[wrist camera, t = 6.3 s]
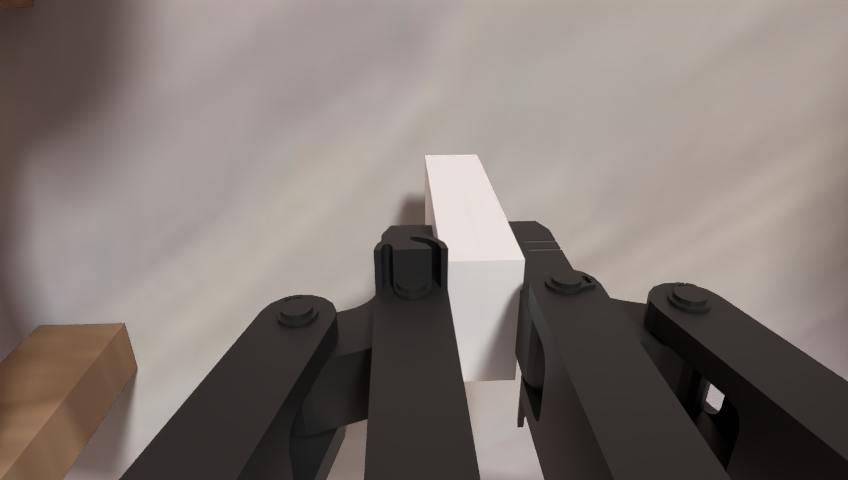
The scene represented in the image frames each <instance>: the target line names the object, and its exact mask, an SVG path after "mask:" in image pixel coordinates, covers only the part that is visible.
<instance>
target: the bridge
mask: <svg viewBox="0 0 848 480" xmlns="http://www.w3.org/2000/svg"><path fill="white" fill-rule="evenodd" d="M29 6H33V2H32V0H0V9H1V8H15V7H29ZM136 369H137V365H136V362H135V358H134V355H133V351H132V348H131V344H130V341H129V337H128V334H127V330H126V327H125V323H119V324H85V325H50V326H38V327H37V328H36V329H35V330H34V331H33V332H32V333H31V334H30V335H29V336H28V337H27V338H26V339H25V340H24V341H23V342H22V343H21V344H20V345H19V346H18V347H16V348H15V349H14V350H13V351H12V352H11V353H10V354H9V355H8V356H7V357H6V358H5V359H4V360H3V361H2V362H1V363H0V480H63V478H64V477H65V475H66V474H67V472H68V471H69V469H70V468H71V466H72V465H73V463H74V462H75V460H76V459H77V457H78V456H79V454H80V453H81V451H82V450H83V448H84V447H85V445H86V444H87V442H88V441H89V439H90V438H91V436H92V435H93V433H94V432H95V430H96V429H97V427H98V426H99V424H100V423H101V421H102V420H103V418H104V417H105V415H106V414H107V413H108V411H109V410H110V408H111V407H112V405H113V404H114V402H115V401H116V399H117V398H118V396H119V395H120V393H121V392H122V390H123V389H124V387H125V386H126V384H127V383H128V381H129V380H130V378H131V377H132V375H133V374H134V372H135V371H136Z"/></svg>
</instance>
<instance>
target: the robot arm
mask: <svg viewBox="0 0 848 480" xmlns="http://www.w3.org/2000/svg"><path fill="white" fill-rule="evenodd" d="M374 265H375V285H376V295H375V296H374V297H373V298H372V299H371V300H370V301H368V302H367V303H365V304H363V305H361V306H359V307H356V308H353V309H349V310H346V311H341V312H336V309H335V307H334V305H333V303H331V302H330V301H328V300H327V299H325V298H322V297H318V296H313V295H293V296H289V297H285V298H282V299H280V300H278V301H276V302H273V303H271V304H269V305H268V306H267V307H266V308H265V309H263V310H262V311H261V312H260V313H259V314H258V316H257V317H256V318H255V319H254V320H253V322H252V323H251V324H250V325H249V326H248V327H247V329H246V330H245V331H244V332H243V333H242V335H241V336H240V337H239V338H238V339H237V341H236V342H235V343H234V344H233V345H232V346H231V348H230V349H229V350H228V351H227V352H226V354H225V355H224V356H223V357H222V358H221V359H220V361H219V362H218V363H217V364H216V365H215V367H214V368H213V369H212V370H211V371H210V372H209V374H208V375H207V376H206V377H205V378H204V380H203V381H202V382H201V383H200V384H199V386H198V387H197V388H196V389H195V390H194V391H193V393H192V394H191V395H190V396H189V397H188V399H187V400H186V401H185V402H184V403H183V404H182V406H181V407H180V408H179V409H178V410H177V412H176V413H175V414H174V415H173V416H172V417H171V419H170V420H169V421H168V422H167V423H166V425H165V426H164V427H163V428H162V429H161V430H160V432H159V433H158V434H157V435H156V436H155V438H154V439H153V440H152V441H151V442H150V444H149V445H148V446H147V447H146V448H145V449H144V451H143V452H142V453H141V454H140V455H139V457H138V458H137V459H136V460H135V461H134V462H133V464H132V465H131V466H130V467H129V468H128V470H127V471H126V472H125V473H124V474H123V475H122V477H121V478H120V479H119V480H326V479H327V476H328V474H329V472H330V469H331V467H332V465H333V463H334V460H335V458H336V456H337V453H338V451H339V449H340V446H341V444H342V442H343V439H344V437H345V432H346V425H348V424H352V423H355V422H359V421H362V420H365V419H368V425H367V441H366V457H365V473H364V480H480V475H479V469H478V463H477V457H476V451H475V445H474V440H473V434H472V428H471V422H470V416H469V410H468V404H467V399H466V393H465V387H464V381H493V380H515V374H516V362H517V360H518V363H519V366H520V369H521V373H522V375H521V386H520V397H519V408H518V427H523V424H524V418H525V416H526V418H527V422H528V425H529V428H530V432H531V435H532V439H533V442H534V446H535V449H536V452H537V456H538V459H539V463H540V466H541V469H542V473H543V476H544V480H848V381H846V380H845V379H843V378H842V377H840V376H839V375H837V374H836V373H834V372H833V371H831V370H830V369H828V368H827V367H825V366H824V365H822V364H821V363H819V362H818V361H816V360H815V359H813V358H812V357H810V356H809V355H807V354H806V353H804V352H803V351H801V350H800V349H798V348H797V347H795V346H794V345H792V344H791V343H789V342H788V341H786V340H785V339H783V338H782V337H780V336H779V335H777V334H776V333H774V332H773V331H771V330H770V329H768V328H767V327H765V326H764V325H762V324H761V323H759V322H758V321H756V320H755V319H753V318H752V317H750V316H749V315H747V314H746V313H744V312H743V311H741V310H740V309H738V308H737V307H735V306H734V305H732V304H731V303H729V302H728V301H726V300H725V299H723V298H722V297H720V296H719V295H717V294H715V293H713V292H711V291H709V290H707V289H704V288H701V287H697V286H696V285H694V284H689V283H686V284H684V283H679V282H677V283H664V284H661V285H658V286H655V287H653V288H652V289H651V290H650V292H649V294H648V299H647V304H643V303H636V302H629V301H623V300H618V299H613V298H610V297H609V295H608V294H607V292H606V291H605V289H604V288H603V286H602V285H601V284H600V283H599V282H598V281H597V280H596V279H595V278H594V277H592V276H590V275H588V274H586V273H584V272H581V271H577V270H573V268H572V266H571V265H570V263H569V261H568V260H567V258H566V257H565V255H564V253H563V252H562V250H560V247H559V245H558V243H557V242H555V239H554V237H553V235H552V234H551V232H550V230H549V229H547V228H546V227H544V226H542V225H541V224H539V223H538V222H536V221H515V222H508V221H507V219H506V217H505V215H504V212H503V210H502V208H501V206H500V204H499V202H498V199H497V197H496V195H495V193H494V191H493V189H492V186H491V184H490V182H489V180H488V178H487V176H486V173H485V171H484V169H483V167H482V165H481V162H480V160H479V158H478V156H477V155H425V225H407V226H390V227H389V228H388V229H387V230H386V231H385V232H384V233H383V234H382V240H381V242H379V243H378V244H377V245H376V247H375V249H374ZM710 384H712V385H714V386H715V387H716V388H717V389H718V390H719V391H720V392H722V393H723V394H724V395H725V397H724V400H723V403H722V407H721V409H720V411H718V410H716V409H715V408H713V407H712V406H711V405H710V404H709V403H708V402H707V401H706V398H707V394H708V391H709V387H710Z"/></svg>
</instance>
